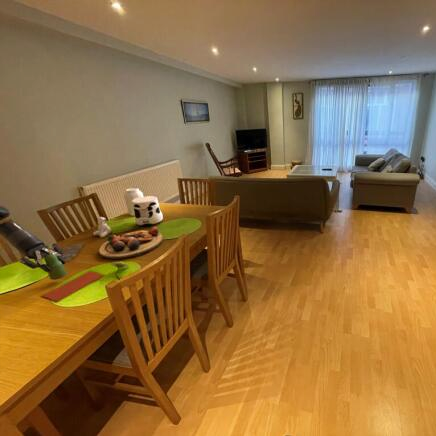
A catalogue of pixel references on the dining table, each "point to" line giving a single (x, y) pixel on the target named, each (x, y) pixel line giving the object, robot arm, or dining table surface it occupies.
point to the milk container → (147, 210)
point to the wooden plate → (130, 244)
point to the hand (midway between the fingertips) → (57, 266)
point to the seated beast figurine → (102, 228)
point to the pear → (55, 267)
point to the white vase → (131, 198)
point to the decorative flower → (119, 266)
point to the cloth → (72, 286)
